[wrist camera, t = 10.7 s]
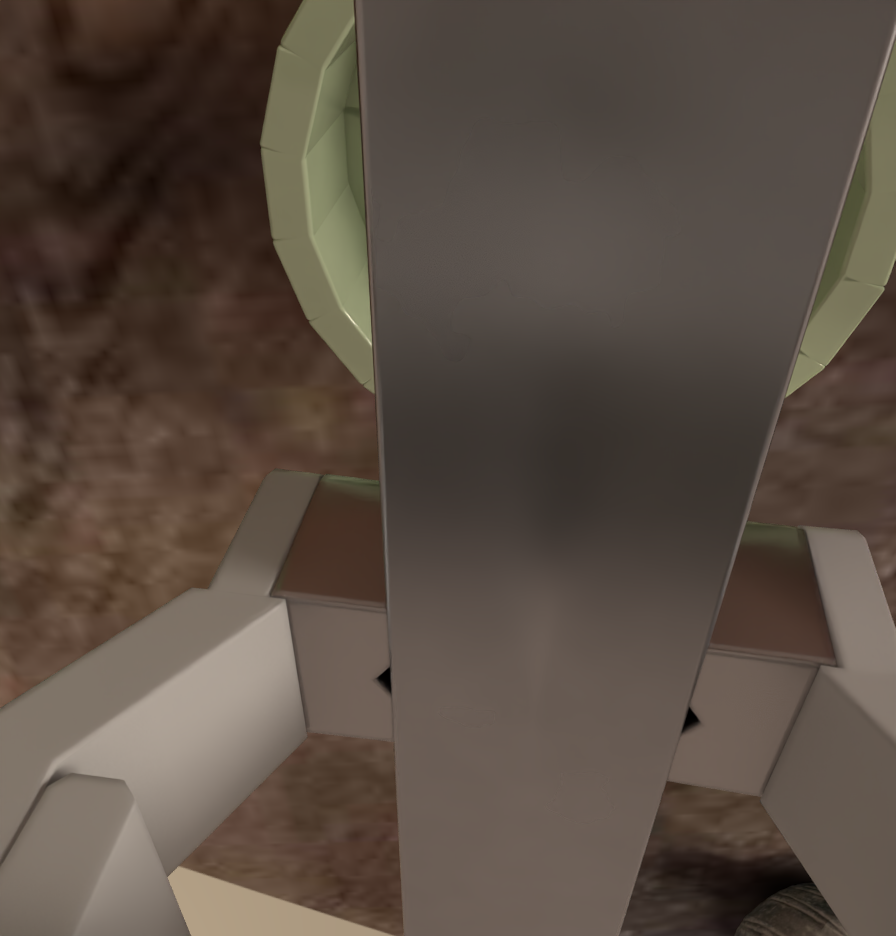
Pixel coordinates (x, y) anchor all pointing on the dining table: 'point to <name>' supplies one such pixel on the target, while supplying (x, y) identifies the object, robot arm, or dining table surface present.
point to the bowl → (343, 210)
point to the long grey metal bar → (579, 399)
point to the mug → (793, 915)
